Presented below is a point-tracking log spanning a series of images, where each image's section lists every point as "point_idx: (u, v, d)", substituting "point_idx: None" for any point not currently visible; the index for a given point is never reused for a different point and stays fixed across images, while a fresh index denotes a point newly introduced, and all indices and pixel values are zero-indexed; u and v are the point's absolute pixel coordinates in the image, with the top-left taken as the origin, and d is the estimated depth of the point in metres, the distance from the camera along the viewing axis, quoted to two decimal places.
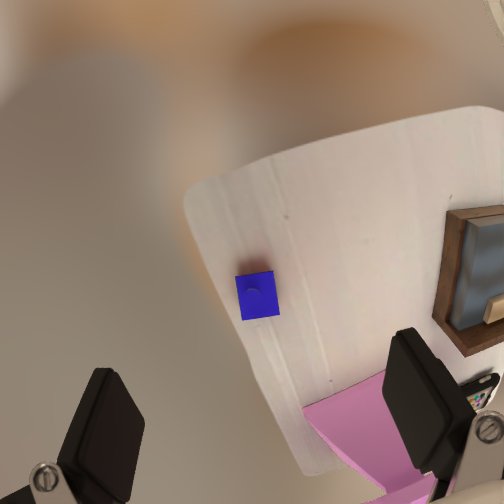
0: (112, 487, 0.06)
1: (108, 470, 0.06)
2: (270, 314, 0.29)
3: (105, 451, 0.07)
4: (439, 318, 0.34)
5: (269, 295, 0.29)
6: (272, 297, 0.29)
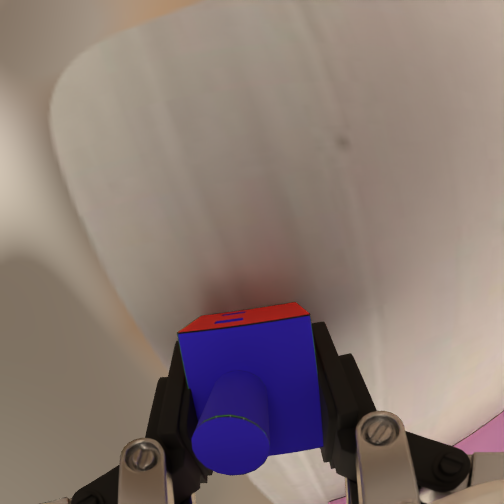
0: None
1: None
2: (295, 447, 0.08)
3: None
4: None
5: (295, 394, 0.08)
6: (306, 401, 0.08)
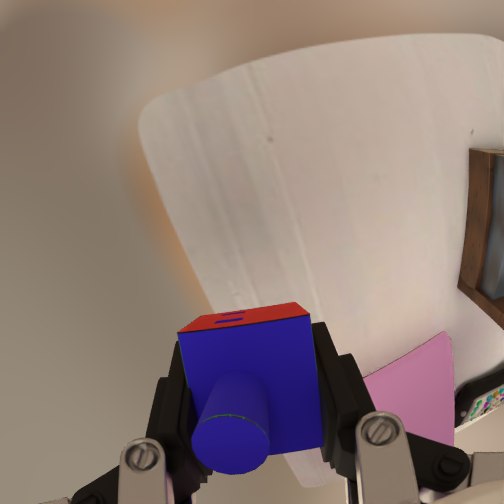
0: None
1: None
2: (295, 447, 0.08)
3: None
4: (468, 286, 0.26)
5: (294, 394, 0.08)
6: (305, 401, 0.08)
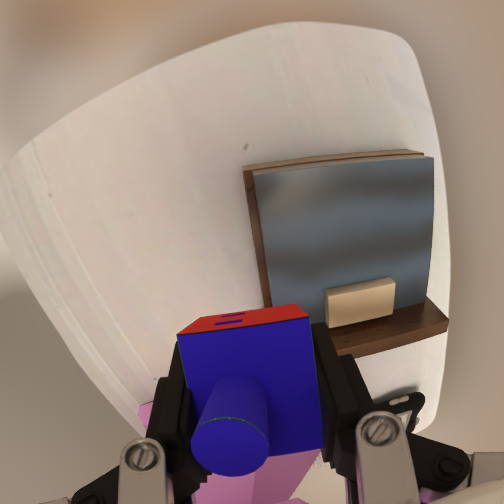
0: None
1: None
2: (294, 449, 0.08)
3: None
4: None
5: (294, 396, 0.08)
6: (305, 403, 0.08)
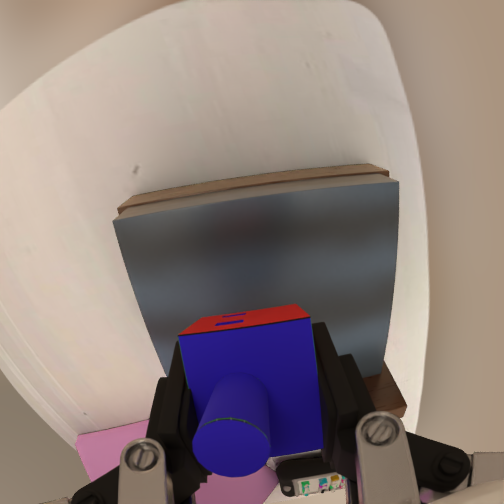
0: None
1: None
2: (295, 449, 0.08)
3: None
4: None
5: (295, 396, 0.08)
6: (306, 403, 0.08)
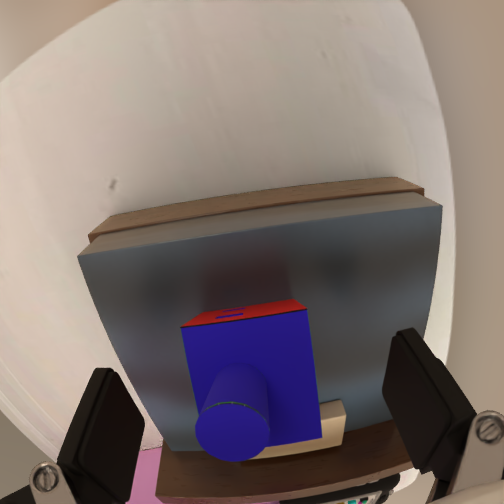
0: (112, 487, 0.06)
1: (108, 470, 0.06)
2: (294, 439, 0.08)
3: (105, 451, 0.07)
4: None
5: (293, 386, 0.08)
6: (303, 393, 0.08)
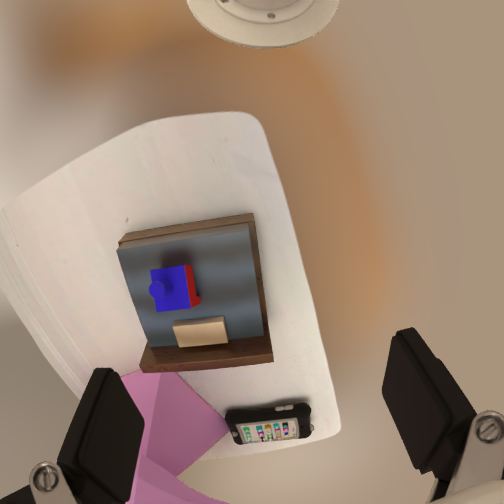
0: (112, 487, 0.06)
1: (108, 470, 0.06)
2: (181, 307, 0.29)
3: (105, 451, 0.07)
4: None
5: (180, 288, 0.29)
6: (184, 291, 0.29)
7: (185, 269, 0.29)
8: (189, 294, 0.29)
